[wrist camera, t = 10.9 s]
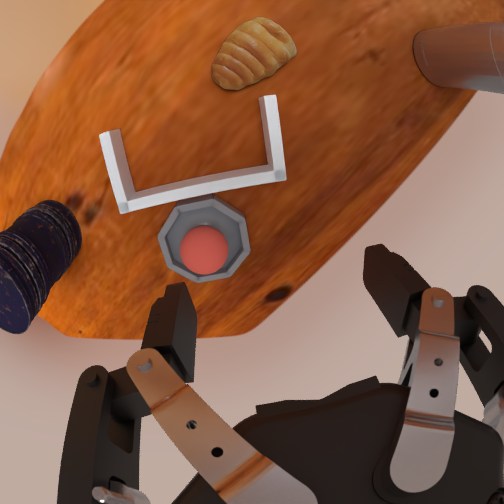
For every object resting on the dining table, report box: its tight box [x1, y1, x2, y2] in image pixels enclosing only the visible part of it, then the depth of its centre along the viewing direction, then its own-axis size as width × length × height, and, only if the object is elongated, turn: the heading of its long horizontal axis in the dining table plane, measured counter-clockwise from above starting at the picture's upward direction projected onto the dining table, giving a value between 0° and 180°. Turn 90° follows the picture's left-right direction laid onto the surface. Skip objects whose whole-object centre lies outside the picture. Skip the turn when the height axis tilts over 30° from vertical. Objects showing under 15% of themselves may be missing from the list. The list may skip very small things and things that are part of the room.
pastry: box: [212, 17, 297, 90], centre depth 22 cm, size 9×7×4 cm
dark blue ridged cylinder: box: [0, 200, 82, 334], centre depth 24 cm, size 10×10×15 cm
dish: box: [158, 194, 251, 283], centre depth 33 cm, size 10×10×2 cm
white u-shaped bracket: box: [99, 95, 287, 214], centre depth 27 cm, size 18×9×4 cm, turn 99°
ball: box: [180, 226, 228, 275], centre depth 31 cm, size 6×6×6 cm
